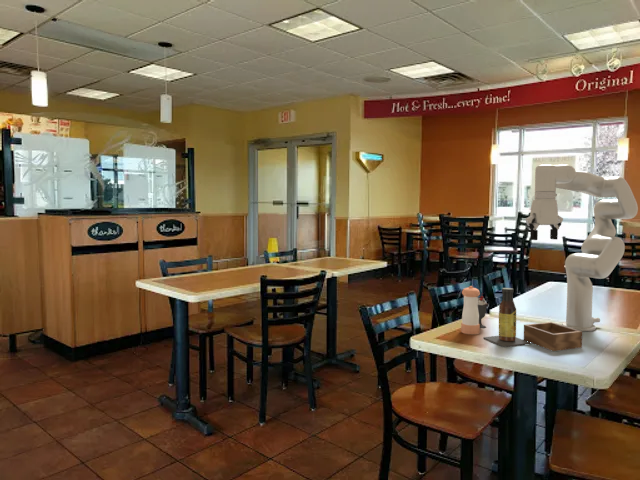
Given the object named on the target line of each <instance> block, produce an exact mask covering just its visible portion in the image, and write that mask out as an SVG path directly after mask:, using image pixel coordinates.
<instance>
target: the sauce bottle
mask: <svg viewBox="0 0 640 480" xmlns="http://www.w3.org/2000/svg"><path fill="white" fill-rule="evenodd" d="M501 294H502V301H501V302H500V303H499V306H498V336H499V339H500V340H502V341H509V342H511V341H515V339H516V337H517V307H516V305H515V304H516V303H515V302H514V288H511V287H502V288H501Z"/></svg>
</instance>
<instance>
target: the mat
mask: <svg viewBox="0 0 640 480" xmlns="http://www.w3.org/2000/svg"><path fill="white" fill-rule="evenodd" d="M483 339H484V340H485V341H487V342H490V343H493V344H495V345H497V346H499V347H502V348H509V347H510V346H512V347H518V346H517V345H520V346H526V345H525V344H529V345H531V344H532V343H530V342H527V341H525V340H524V339H521V338H519V337H517V336H516V339H515V341H511V342H509V341H502V340H500V339H499V335H491V336H483ZM483 339H482V340H483Z"/></svg>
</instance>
